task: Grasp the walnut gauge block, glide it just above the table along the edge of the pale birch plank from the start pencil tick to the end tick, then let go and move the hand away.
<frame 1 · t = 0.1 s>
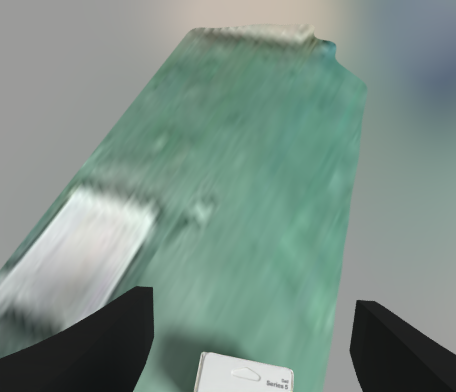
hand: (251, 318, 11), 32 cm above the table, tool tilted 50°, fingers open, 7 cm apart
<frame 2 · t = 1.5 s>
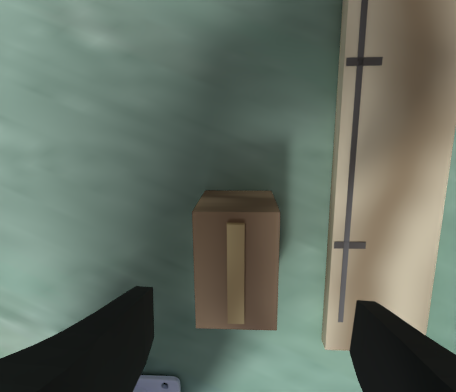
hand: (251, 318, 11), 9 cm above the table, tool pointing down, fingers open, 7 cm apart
birch plank: (385, 157, 18), on the table
walnut gauge: (238, 237, 20), on the table
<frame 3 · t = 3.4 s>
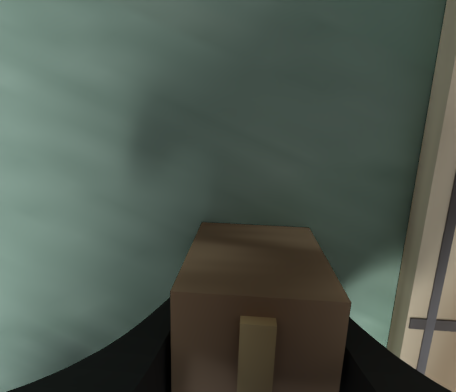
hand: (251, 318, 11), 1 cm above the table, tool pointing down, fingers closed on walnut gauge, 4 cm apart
walnut gauge: (251, 297, 13), on the table, touching gripper
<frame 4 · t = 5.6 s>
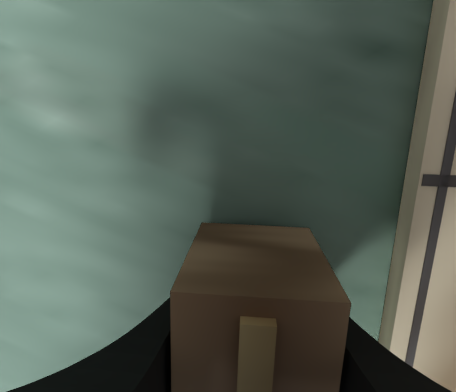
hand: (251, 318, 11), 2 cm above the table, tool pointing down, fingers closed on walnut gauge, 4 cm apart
walnut gauge: (251, 297, 13), point 1 cm above the table, touching gripper
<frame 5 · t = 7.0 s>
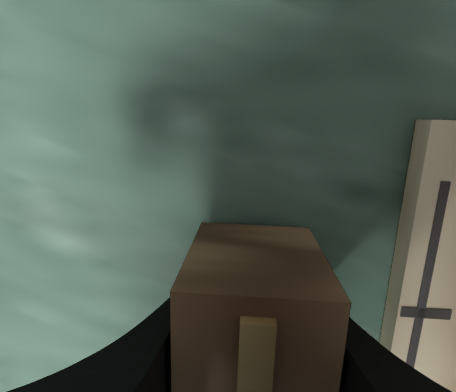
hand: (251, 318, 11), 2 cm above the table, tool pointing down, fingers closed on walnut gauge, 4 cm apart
walnut gauge: (251, 297, 13), point 1 cm above the table, touching gripper
when the fingers open (2 cm above the table, at t = 7.9 s): walnut gauge stays where it is, on the table.
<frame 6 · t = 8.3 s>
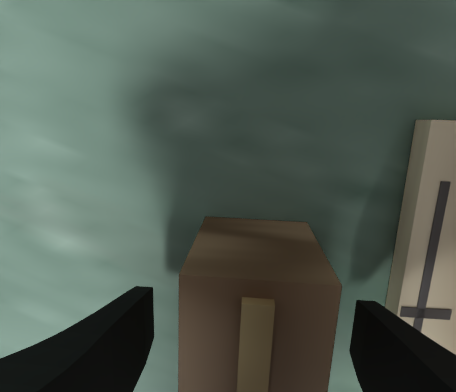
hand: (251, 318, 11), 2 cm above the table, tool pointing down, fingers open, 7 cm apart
walnut gauge: (251, 286, 13), on the table
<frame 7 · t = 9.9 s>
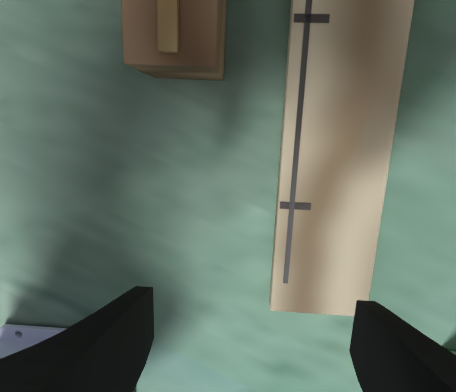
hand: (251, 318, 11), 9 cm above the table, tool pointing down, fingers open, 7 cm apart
birch plank: (334, 119, 18), on the table
walnut gauge: (190, 22, 18), on the table
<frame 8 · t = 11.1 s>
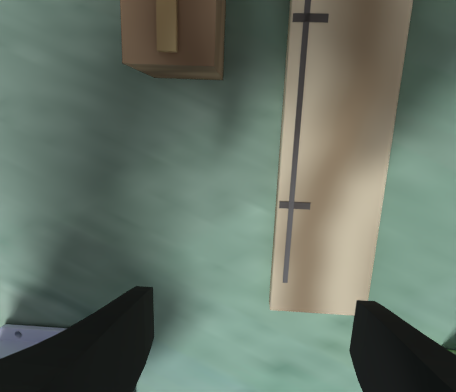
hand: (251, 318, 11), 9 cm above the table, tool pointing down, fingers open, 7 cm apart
birch plank: (334, 119, 19), on the table
walnut gauge: (189, 22, 18), on the table
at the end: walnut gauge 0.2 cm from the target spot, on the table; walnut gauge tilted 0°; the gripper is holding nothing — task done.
